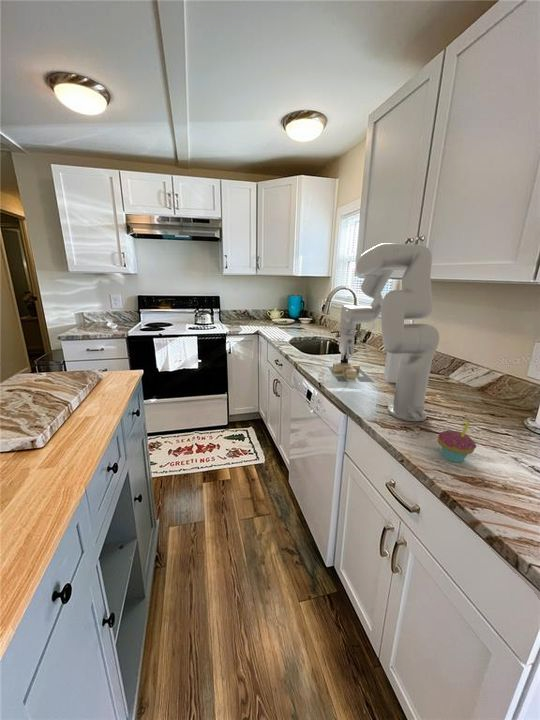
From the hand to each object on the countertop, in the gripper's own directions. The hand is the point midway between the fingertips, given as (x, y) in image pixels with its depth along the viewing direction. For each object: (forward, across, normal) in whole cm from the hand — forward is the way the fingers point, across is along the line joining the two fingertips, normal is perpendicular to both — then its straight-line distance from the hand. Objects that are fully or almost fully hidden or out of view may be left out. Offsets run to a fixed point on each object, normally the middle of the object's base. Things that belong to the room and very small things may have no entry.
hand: (343, 367), depth 148 cm
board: (+2, -6, -1) cm, 7 cm away
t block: (+1, -8, 0) cm, 8 cm away
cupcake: (+2, -72, -10) cm, 73 cm away
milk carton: (+2, -14, -19) cm, 24 cm away
